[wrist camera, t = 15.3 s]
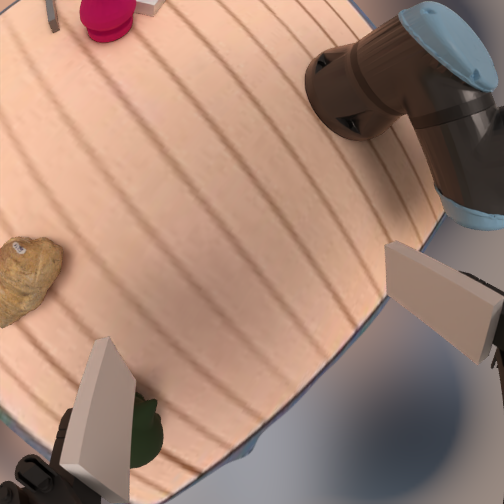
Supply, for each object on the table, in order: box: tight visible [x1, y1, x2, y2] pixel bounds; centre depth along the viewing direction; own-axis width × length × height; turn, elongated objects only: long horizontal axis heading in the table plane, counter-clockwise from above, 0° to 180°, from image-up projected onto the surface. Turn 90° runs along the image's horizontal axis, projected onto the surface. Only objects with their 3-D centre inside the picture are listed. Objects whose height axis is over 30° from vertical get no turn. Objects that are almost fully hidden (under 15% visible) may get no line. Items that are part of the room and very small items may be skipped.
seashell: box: [0, 237, 63, 328], centre depth 24 cm, size 14×8×8 cm, turn 146°
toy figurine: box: [130, 391, 163, 469], centre depth 24 cm, size 9×19×25 cm
